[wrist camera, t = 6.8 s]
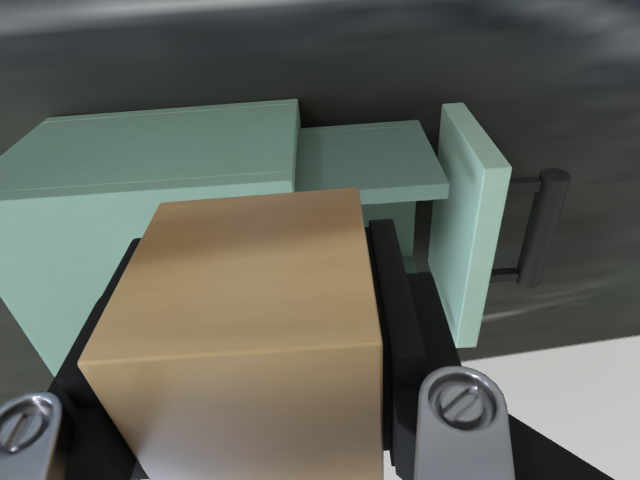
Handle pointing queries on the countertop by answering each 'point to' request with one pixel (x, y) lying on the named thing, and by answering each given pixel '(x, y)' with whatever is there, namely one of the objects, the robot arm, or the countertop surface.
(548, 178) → the drawer
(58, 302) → the cabinet
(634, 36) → the countertop surface
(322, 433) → the block
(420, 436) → the robot arm
